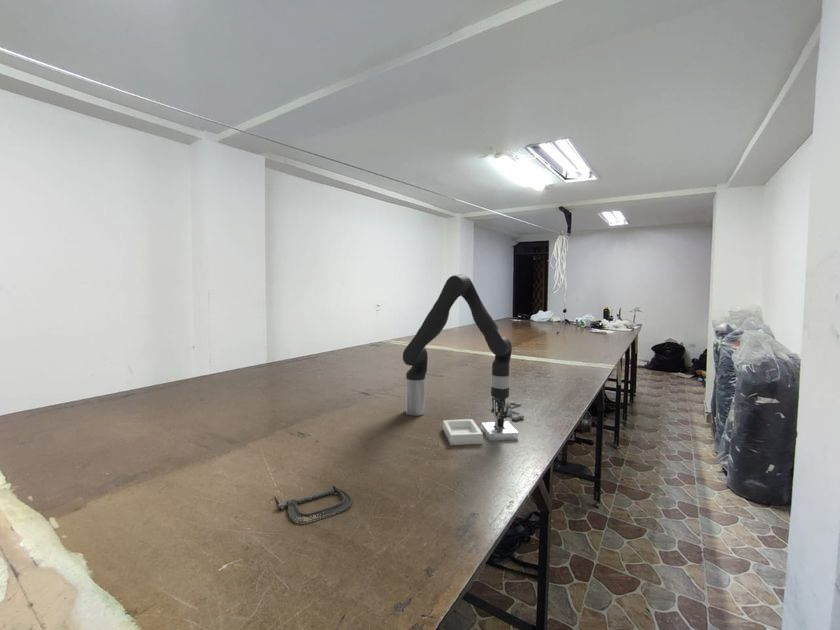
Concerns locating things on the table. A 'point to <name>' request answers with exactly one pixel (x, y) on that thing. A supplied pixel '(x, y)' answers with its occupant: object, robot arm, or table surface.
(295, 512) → the c clamp
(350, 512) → the table surface
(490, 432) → the block
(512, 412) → the pulley system
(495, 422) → the lock pin
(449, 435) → the parts tray
